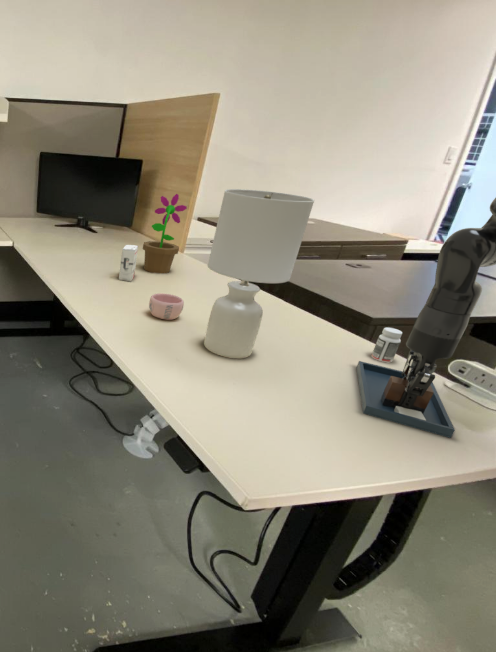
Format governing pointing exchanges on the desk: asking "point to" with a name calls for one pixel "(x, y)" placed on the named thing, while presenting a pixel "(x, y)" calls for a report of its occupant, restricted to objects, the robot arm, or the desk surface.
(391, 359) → the pill bottle
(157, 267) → the flowerpot
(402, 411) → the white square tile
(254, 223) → the lamp
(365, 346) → the desk surface
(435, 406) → the tray
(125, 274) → the ink box
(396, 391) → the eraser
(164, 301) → the pink bowl
